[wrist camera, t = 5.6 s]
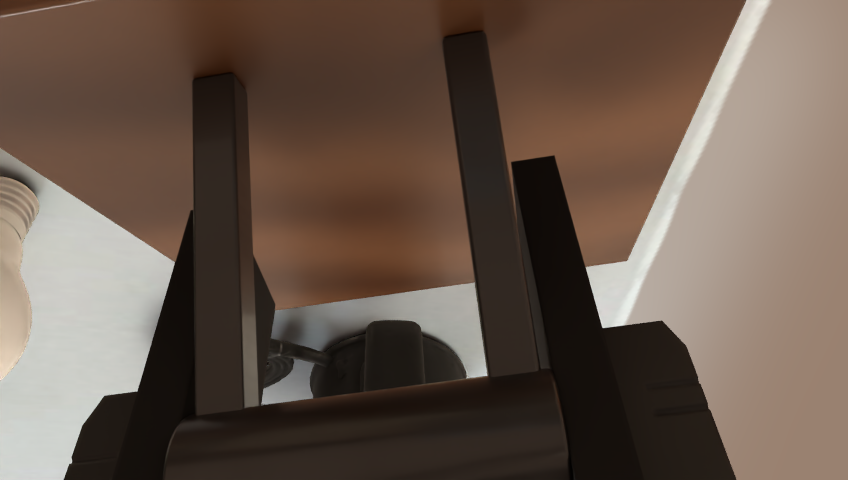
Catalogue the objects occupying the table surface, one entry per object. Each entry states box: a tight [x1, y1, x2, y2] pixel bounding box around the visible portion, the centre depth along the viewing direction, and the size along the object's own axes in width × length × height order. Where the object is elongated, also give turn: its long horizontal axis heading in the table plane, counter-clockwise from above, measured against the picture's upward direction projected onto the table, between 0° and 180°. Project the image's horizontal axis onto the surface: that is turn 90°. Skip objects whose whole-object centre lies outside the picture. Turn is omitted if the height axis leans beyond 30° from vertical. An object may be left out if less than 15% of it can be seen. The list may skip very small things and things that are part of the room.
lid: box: [0, 0, 746, 480], centre depth 16 cm, size 17×13×8 cm
